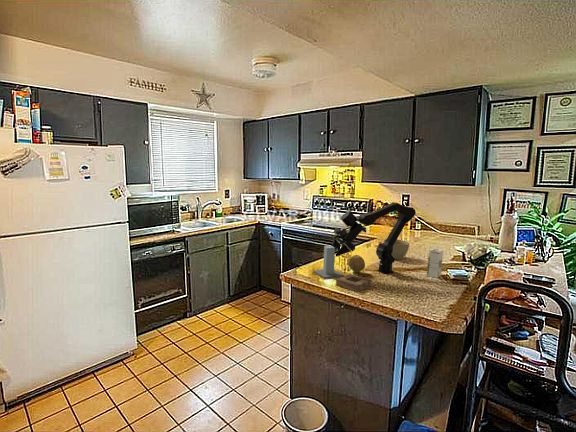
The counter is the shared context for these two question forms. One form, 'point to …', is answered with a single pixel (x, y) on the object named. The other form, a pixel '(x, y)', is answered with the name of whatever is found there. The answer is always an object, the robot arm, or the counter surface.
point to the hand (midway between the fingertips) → (332, 253)
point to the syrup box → (434, 263)
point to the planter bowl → (399, 249)
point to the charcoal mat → (327, 276)
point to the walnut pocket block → (353, 282)
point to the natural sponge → (356, 263)
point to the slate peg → (329, 259)
